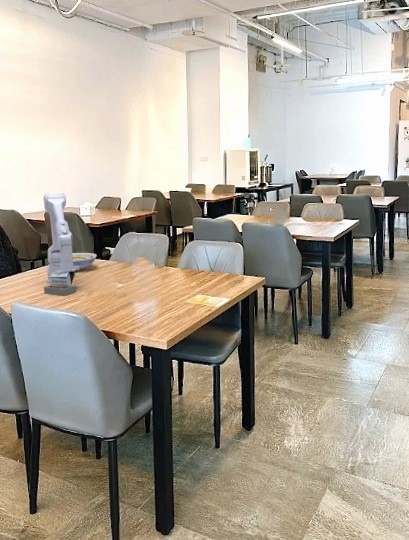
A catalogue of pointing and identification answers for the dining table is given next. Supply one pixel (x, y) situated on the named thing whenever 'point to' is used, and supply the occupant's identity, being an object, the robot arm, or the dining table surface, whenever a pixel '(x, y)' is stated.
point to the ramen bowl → (83, 259)
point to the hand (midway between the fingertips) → (68, 287)
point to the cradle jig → (59, 290)
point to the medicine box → (61, 280)
